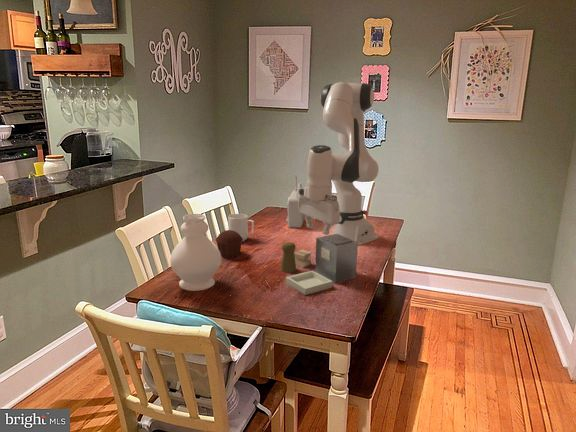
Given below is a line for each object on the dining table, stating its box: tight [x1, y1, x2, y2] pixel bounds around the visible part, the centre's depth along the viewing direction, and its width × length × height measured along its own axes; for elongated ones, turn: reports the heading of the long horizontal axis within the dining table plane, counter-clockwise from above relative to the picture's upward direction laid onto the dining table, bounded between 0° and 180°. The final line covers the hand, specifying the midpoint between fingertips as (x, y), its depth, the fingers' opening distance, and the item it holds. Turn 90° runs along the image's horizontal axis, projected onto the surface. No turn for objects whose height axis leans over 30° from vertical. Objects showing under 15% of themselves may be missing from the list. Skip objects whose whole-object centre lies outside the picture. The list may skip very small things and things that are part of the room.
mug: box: [227, 213, 255, 242], centre depth 219 cm, size 12×9×11 cm
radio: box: [285, 173, 306, 229], centre depth 244 cm, size 22×8×25 cm, turn 172°
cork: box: [280, 241, 297, 274], centre depth 184 cm, size 6×6×11 cm
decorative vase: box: [169, 213, 222, 292], centre depth 169 cm, size 18×18×25 cm
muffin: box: [215, 229, 243, 259], centre depth 200 cm, size 12×11×10 cm
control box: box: [314, 233, 359, 284], centre depth 179 cm, size 10×12×14 cm
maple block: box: [294, 249, 312, 268], centre depth 191 cm, size 5×5×5 cm
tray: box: [285, 270, 334, 296], centre depth 171 cm, size 12×12×2 cm
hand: (317, 230), depth 170 cm, fingers open, 8 cm apart
